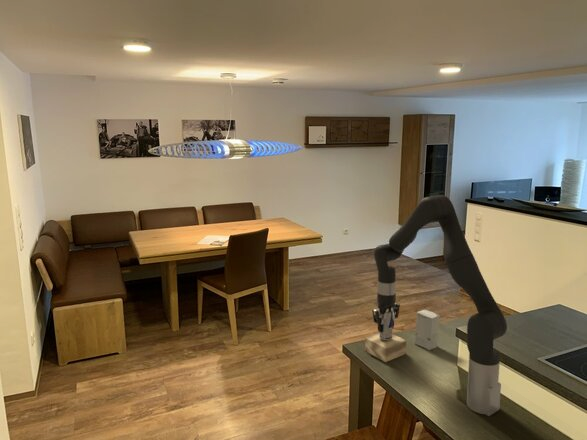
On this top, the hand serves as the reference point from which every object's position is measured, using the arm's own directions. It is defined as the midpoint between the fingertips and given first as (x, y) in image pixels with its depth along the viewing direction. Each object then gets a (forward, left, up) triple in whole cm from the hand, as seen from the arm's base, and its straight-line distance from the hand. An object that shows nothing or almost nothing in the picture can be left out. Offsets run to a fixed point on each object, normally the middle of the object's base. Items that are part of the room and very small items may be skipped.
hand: (385, 330), depth 184 cm
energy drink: (0, 0, -4) cm, 4 cm away
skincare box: (-6, -19, -10) cm, 22 cm away
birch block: (0, 0, -10) cm, 10 cm away
